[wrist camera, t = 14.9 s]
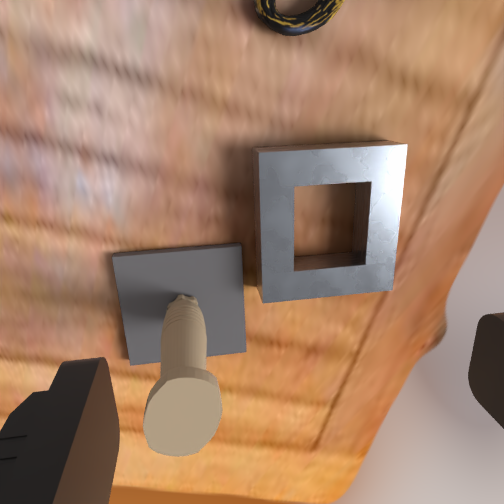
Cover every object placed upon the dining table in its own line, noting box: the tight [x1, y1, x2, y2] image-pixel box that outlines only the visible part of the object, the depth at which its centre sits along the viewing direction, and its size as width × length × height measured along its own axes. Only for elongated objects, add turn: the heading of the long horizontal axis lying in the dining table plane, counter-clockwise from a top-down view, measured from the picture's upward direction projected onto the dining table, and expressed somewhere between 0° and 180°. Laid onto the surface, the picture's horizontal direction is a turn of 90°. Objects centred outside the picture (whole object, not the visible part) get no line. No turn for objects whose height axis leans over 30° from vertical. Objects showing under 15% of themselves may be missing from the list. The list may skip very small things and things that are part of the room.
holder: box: [252, 140, 407, 303], centre depth 38 cm, size 14×13×4 cm
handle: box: [143, 294, 222, 456], centre depth 33 cm, size 5×6×15 cm
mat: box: [112, 243, 246, 366], centre depth 41 cm, size 12×12×1 cm
